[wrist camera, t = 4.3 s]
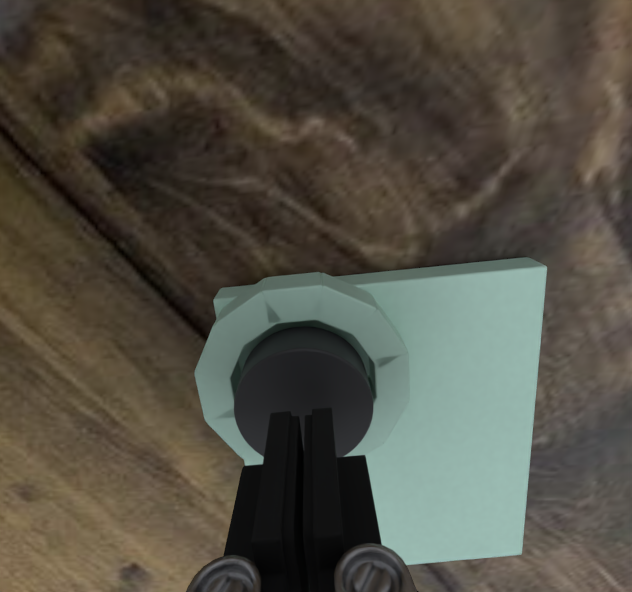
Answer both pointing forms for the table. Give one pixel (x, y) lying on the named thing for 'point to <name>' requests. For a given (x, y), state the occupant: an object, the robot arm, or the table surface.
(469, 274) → the scale
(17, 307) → the table surface
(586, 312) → the table surface
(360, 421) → the button
